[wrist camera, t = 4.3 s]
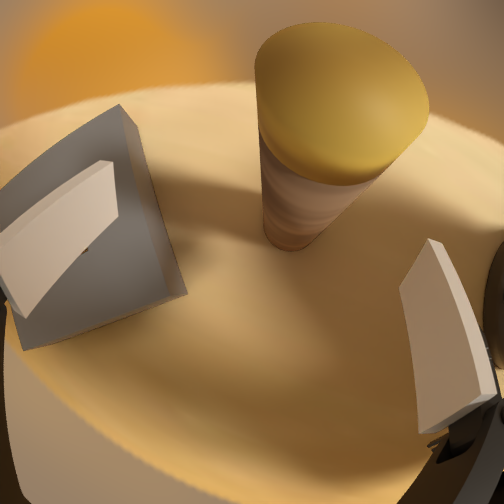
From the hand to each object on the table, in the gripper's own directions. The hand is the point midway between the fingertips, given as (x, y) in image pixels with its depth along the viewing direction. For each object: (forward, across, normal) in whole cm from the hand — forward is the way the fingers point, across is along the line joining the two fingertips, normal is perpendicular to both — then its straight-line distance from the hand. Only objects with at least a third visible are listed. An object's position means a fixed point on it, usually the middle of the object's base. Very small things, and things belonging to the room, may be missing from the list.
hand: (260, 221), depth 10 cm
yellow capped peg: (+9, +2, -5) cm, 11 cm away
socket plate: (+5, -16, -9) cm, 19 cm away
